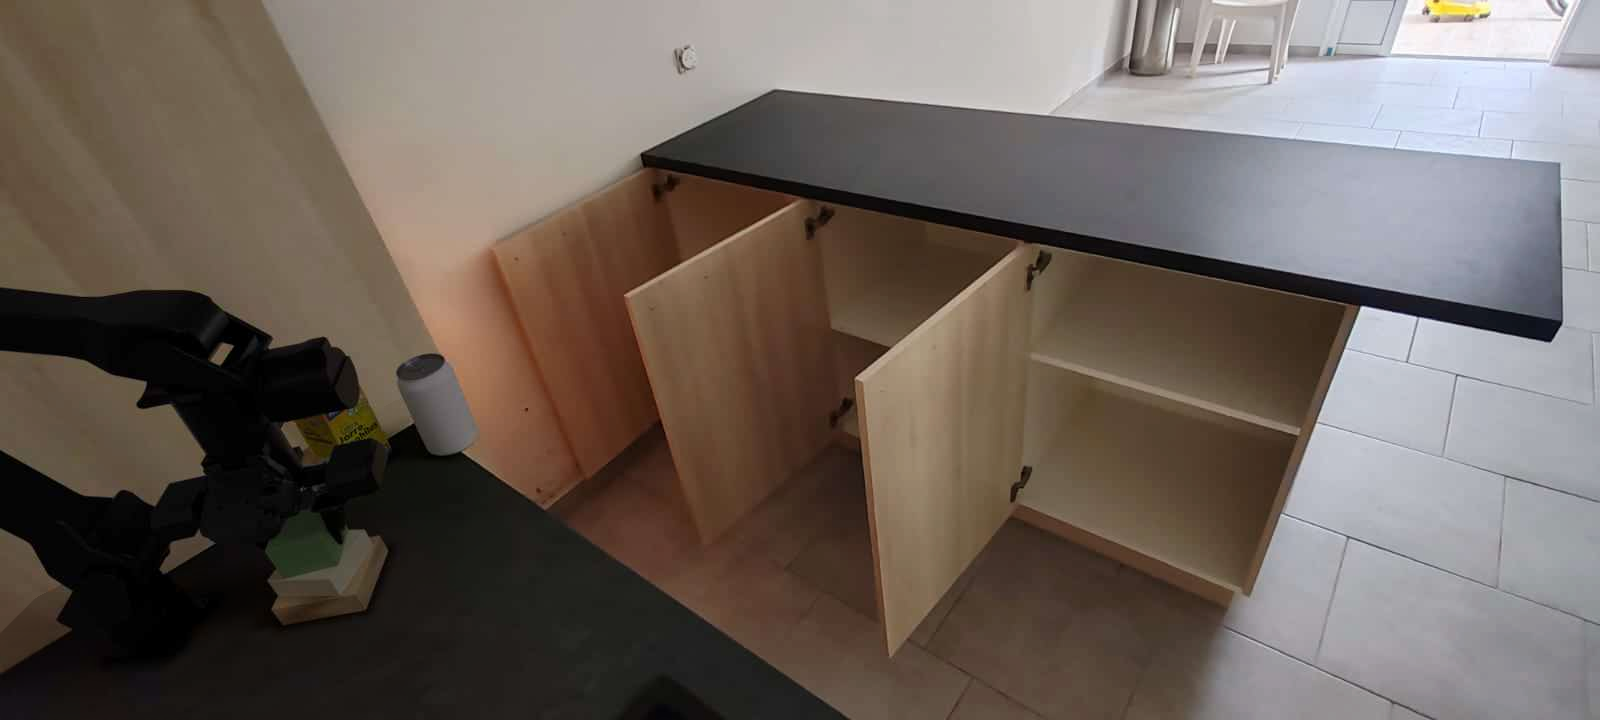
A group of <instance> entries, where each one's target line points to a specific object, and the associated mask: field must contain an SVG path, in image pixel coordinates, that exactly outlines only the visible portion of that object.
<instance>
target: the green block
mask: <svg viewBox="0 0 1600 720" xmlns="http://www.w3.org/2000/svg"><path fill="white" fill-rule="evenodd" d="M311 509H312V507H309V508H305V509H300V513H299V514H298V515H297V516H294V517H290V518H288V519H286V521H285V524H284V525H282V529H281V532H280V533H279V535H278V536H277V537H275V538H274V539H272V540H270V541H269V542H268V544H267V547H266V549H265V550H264V553H265V555H266V556H267V557H268V559H269V560H270V562H271V563H272V565H273V566H274V568H275V570H276V569H277V570H278V572H279V573H280V574H281V576H282V577H283V579H287V578H291V577H295V576H299V575H303V574H307V573H311V572H315V571H319V570H322V569H326V568H330V567H334V566H338V565H339V562H340V559H341V555H342V552H343V549H344V545H345V542H346V538H347V535H348V531H349V530H350V529H349V528H348V526H347V524H345V539H344V543H343V544H340V545H339V544H338V543H337V542H336V541H335V539H334V538H333V537H332V535H331V534H330V532H329V530H328V528H327V526H326V524H325V522H324V521H323V519H322V517H321V515H320V514H319V513H313V512H311Z"/></svg>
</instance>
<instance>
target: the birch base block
mask: <svg viewBox="0 0 1600 720" xmlns="http://www.w3.org/2000/svg"><path fill="white" fill-rule="evenodd" d="M369 538H370V540H371V542H372V543H373V545H374V546H373V548H372V549H371V551H370V552H369V554H368V555H367V557H366V558H365V560H364V561H363V563H362V564H361V566H360V567H359V569H358V570H357V572H356V573H355V575H354V576H353V578H352V579H351V581H350V582H349V584H348V585H347V587H346V588H345V590H344V591H343V593H342V594H341V595H340V596H298V597H279V596H278V595H277V597H276V600H275V601H274V603H273V606H272V607H271V612H272V613H273V614H274V615H275V618H276V619H278V621H279V622H280V624H281V625H282V626H287V625H291V624H297V623H303V622H309V621H314V620H319V619H325V618H331V617H335V616H341V615H348V614H352V613H359V612H363V611H366V610H367V608H368V605H369V603H370V600H371V599H372V595H373V593H374V589H375V587H376V585H377V582H378V579H379V576H380V574H381V571H382V568H383V567H384V563H385V560H386V559H387V555H388V553H389V549H388V548H387V546H386V544H385V542H384V540H383V538H382V536H381V535H374V536H369Z"/></svg>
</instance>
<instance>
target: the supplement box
mask: <svg viewBox="0 0 1600 720" xmlns="http://www.w3.org/2000/svg"><path fill="white" fill-rule="evenodd" d="M359 389H360V393H359V401H358V404H357V405H356V407H354V408H352V409H347V410H342V411H338V412H333V413H328V414H323V415H319V416H314V417H309V418H304V419H300V420H295V421H293V422H294V423H296V424H295V425H296V428H297V429H298V431H299V433H300V434H301V436H302V438H303V437H304V438H303V440H304V442H305V443H306V442H307V443H306V445H307V444H308V445H309V446H308V445H307V446H308V448H309V447H310V448H311V450H312V452H313V453H314V455H315V457H316V458H317V460H318V461H320V460H321V459H323V458H326V457H330V456H331V453H332V450H333V448H334V446H336V445H340V444H345V443H349V442H354V441H358V440H362V439H367V438H374V439H377V440H378V441H380V442H381V443H382V444H383V446H384V448H385V450H386V452H387V454H388V457H390V456H391V455H392V454H393V453H394V451H393V449H392V447H391V445H390V443H389V441H388V439H387V436H386V434H385V432H384V430H383V429H382V427H381V424H380V422H379V420H378V418H377V416H376V415H375V413H374V410H373V408H372V406H371V404H370V403H369V400H368V397H367V396H366V395H365V392H364V390H363V388H362V386H361V385H360V384H359ZM310 448H309V449H310ZM311 450H310V451H311ZM312 452H311V453H312ZM313 453H312V454H313ZM314 455H313V456H314ZM315 457H314V458H315ZM317 460H316V461H317Z"/></svg>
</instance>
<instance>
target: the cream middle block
mask: <svg viewBox="0 0 1600 720" xmlns="http://www.w3.org/2000/svg"><path fill="white" fill-rule="evenodd" d="M348 530H349V531H348V535H347V538H346V542H345V545H344V549H343V552H342V555H341V559H340V562H339V565H338V566H334V567H330V568H326V569H322V570H319V571H315V572H311V573H307V574H303V575H299V576H295V577H291V578H287V579H283V577H282V576H281V574H280V573H279V572H278V570H277V569H276V568H275V570H274V571H273V573H272V574H271V575H270V576H269V578H268V579H267V582H268V584H269V585H270V587H271V588H272V590H273V591H274V593H276V595H277V597H278V596H279V597H298V596H340V595H341V594H342V593H343V591H344V590H345V588H346V587H347V585H348V584H349V582H350V581H351V579H352V578H353V576H354V575H355V573H356V572H357V570H358V569H359V567H360V566H361V564H362V563H363V561H364V560H365V558H366V557H367V555H368V554H369V552H370V551H371V549H372V548H373V546H374V545H373V543H372V542H371V540H370V538H369V537H370V536H369V535H368V533H367V531H366V530H365V529H348Z"/></svg>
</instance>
